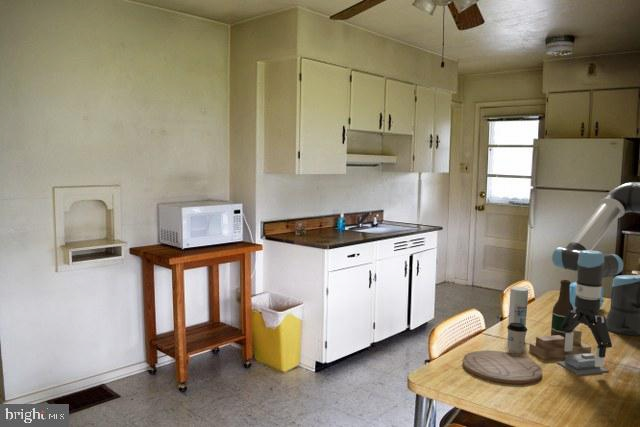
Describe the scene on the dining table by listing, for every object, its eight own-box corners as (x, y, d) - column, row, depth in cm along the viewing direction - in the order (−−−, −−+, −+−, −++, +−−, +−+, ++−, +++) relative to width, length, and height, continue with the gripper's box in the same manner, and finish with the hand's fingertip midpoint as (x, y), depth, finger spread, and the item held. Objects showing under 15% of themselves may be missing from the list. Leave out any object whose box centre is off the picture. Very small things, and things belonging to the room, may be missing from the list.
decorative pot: (572, 302, 259) (574, 275, 257) (606, 309, 247) (609, 281, 245) (558, 307, 248) (559, 279, 247) (593, 315, 236) (595, 286, 235)
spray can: (517, 335, 206) (520, 286, 204) (528, 340, 199) (532, 290, 197) (503, 336, 204) (506, 287, 202) (514, 341, 197) (518, 291, 195)
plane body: (574, 347, 193) (576, 326, 192) (590, 354, 186) (592, 333, 185) (529, 351, 188) (530, 329, 187) (544, 359, 180) (545, 337, 179)
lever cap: (586, 361, 178) (587, 351, 177) (600, 368, 172) (601, 357, 172) (564, 363, 175) (565, 352, 175) (577, 370, 170) (578, 359, 169)
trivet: (513, 353, 186) (513, 348, 186) (559, 383, 162) (559, 377, 161) (449, 357, 181) (449, 352, 180) (487, 388, 156) (487, 382, 156)
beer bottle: (574, 345, 195) (579, 283, 193) (552, 343, 197) (557, 282, 195) (569, 338, 203) (573, 279, 201) (548, 336, 205) (552, 277, 202)
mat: (585, 360, 180) (585, 359, 180) (608, 371, 171) (608, 370, 171) (556, 363, 177) (557, 361, 177) (578, 375, 167) (578, 373, 167)
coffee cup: (525, 349, 190) (527, 323, 189) (526, 355, 183) (528, 328, 182) (505, 346, 192) (507, 320, 191) (505, 353, 185) (507, 326, 184)
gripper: (552, 288, 182) (548, 346, 184) (608, 308, 158) (603, 374, 161) (569, 287, 184) (565, 344, 186) (628, 306, 160) (622, 372, 163)
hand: (582, 358), depth 173 cm, fingers open, 13 cm apart
